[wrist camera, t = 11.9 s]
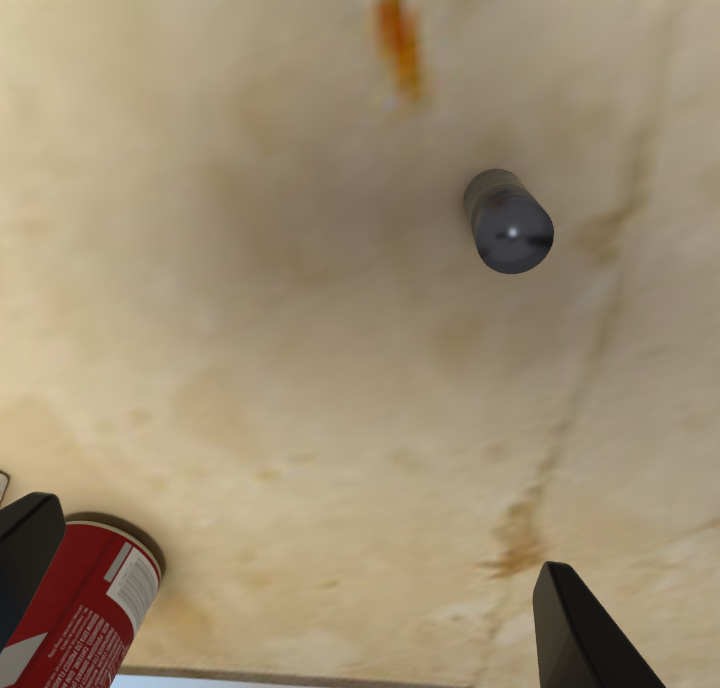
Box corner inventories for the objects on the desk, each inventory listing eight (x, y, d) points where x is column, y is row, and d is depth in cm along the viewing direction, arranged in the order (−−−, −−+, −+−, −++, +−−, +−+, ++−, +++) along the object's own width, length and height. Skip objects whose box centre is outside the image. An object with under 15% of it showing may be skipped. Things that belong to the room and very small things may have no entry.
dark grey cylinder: (529, 171, 17) (561, 203, 13) (517, 230, 18) (545, 276, 14) (468, 167, 17) (482, 198, 13) (460, 226, 18) (471, 271, 14)
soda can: (160, 519, 27) (-3, 805, 17) (172, 599, 31) (43, 880, 20) (37, 502, 28) (-197, 772, 17) (63, 583, 31) (-120, 851, 20)
